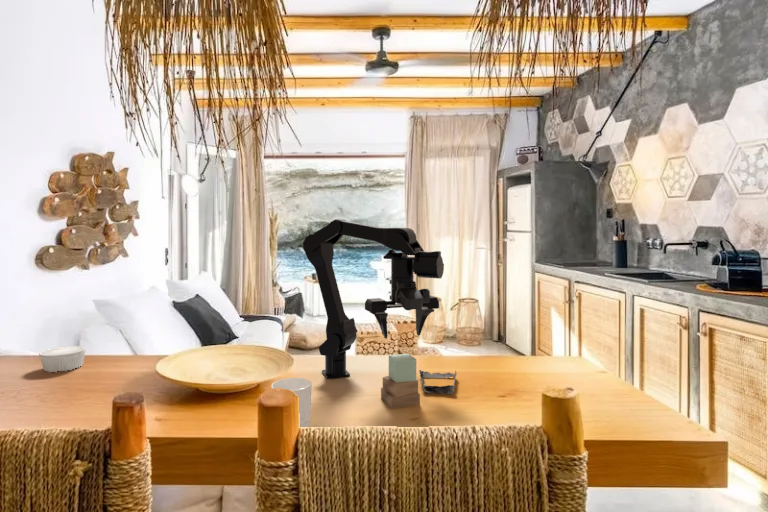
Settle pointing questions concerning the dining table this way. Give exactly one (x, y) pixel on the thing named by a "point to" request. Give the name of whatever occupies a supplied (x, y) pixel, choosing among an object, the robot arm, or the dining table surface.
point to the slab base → (400, 399)
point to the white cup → (299, 395)
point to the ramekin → (62, 358)
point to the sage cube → (402, 368)
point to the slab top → (399, 387)
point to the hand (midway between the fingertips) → (402, 336)
